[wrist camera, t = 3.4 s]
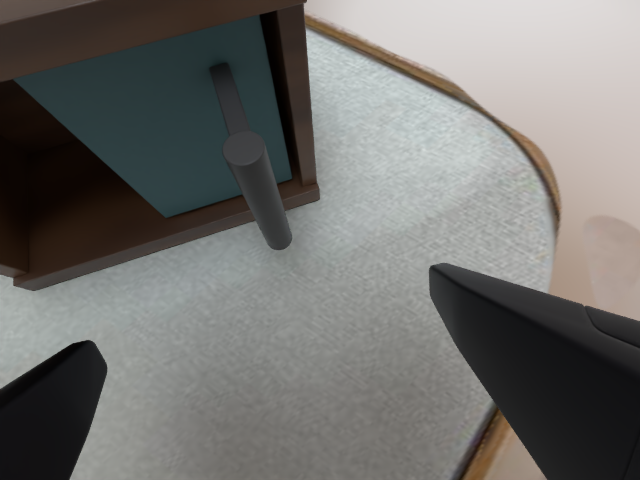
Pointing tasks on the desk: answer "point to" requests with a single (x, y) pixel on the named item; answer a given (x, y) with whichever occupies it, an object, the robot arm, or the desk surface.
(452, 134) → the desk surface
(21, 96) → the cabinet
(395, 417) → the desk surface
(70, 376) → the robot arm
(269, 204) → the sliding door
